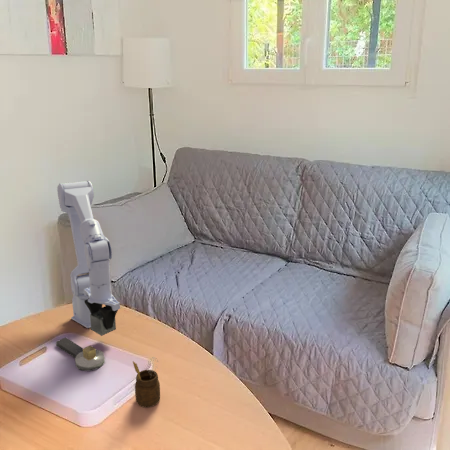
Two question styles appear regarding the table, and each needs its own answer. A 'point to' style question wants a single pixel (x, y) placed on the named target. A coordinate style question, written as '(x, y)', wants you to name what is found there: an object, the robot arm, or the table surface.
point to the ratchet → (82, 355)
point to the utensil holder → (147, 387)
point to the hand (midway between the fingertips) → (103, 324)
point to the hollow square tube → (100, 324)
